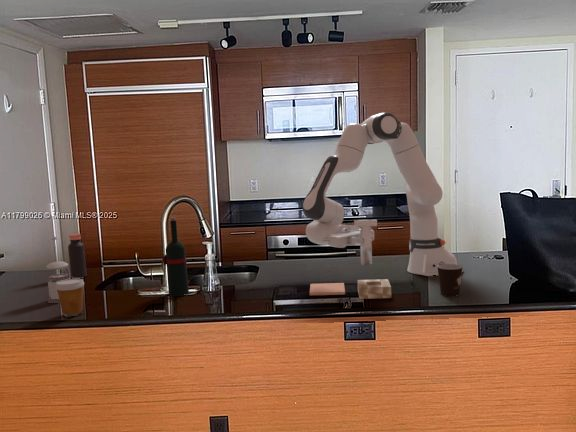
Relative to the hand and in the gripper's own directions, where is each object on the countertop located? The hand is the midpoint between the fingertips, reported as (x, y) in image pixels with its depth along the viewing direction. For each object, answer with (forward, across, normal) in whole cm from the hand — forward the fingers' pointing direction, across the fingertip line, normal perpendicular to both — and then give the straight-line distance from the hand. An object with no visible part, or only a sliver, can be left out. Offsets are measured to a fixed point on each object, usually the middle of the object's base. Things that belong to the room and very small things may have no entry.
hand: (367, 239), depth 194 cm
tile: (-16, -6, +20) cm, 26 cm away
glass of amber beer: (-63, -85, +21) cm, 107 cm away
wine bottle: (-58, -47, +21) cm, 77 cm away
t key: (-1, 0, +9) cm, 9 cm away
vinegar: (-119, -62, +21) cm, 136 cm away
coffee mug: (+23, +19, +20) cm, 36 cm away
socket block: (+1, +1, +20) cm, 20 cm away
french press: (-87, -80, +21) cm, 120 cm away
